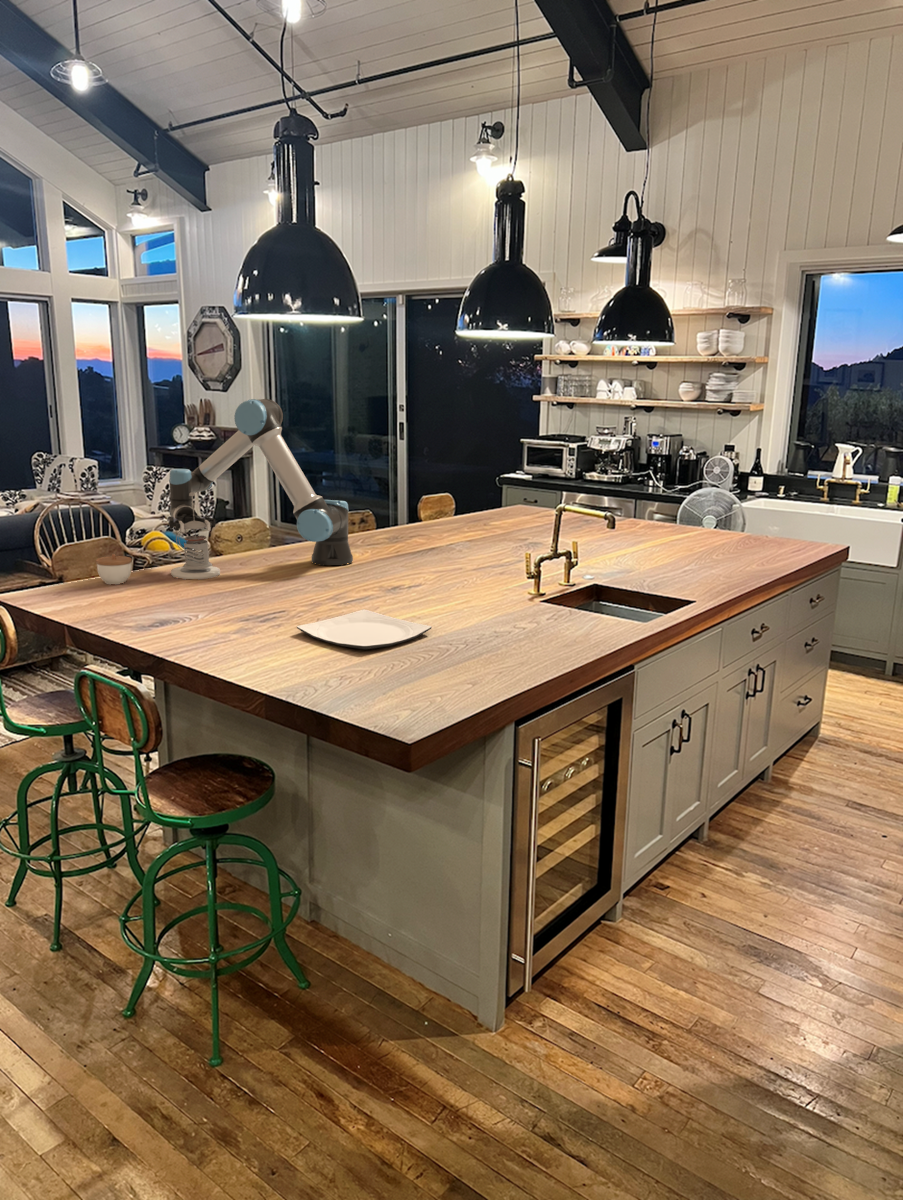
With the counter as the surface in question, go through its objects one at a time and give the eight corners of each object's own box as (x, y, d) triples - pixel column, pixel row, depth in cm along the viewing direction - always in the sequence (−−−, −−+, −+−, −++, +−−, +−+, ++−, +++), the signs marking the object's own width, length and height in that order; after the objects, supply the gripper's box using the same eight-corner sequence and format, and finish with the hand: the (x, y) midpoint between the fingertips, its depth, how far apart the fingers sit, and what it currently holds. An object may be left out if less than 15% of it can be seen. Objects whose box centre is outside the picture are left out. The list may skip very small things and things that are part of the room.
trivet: (229, 574, 313) (229, 569, 313) (191, 581, 301) (191, 576, 300) (199, 567, 322) (199, 562, 322) (161, 574, 310) (161, 569, 309)
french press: (204, 569, 305) (198, 494, 299) (172, 568, 307) (166, 493, 301) (217, 563, 314) (212, 490, 308) (186, 561, 317) (180, 489, 310)
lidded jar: (125, 586, 292) (124, 557, 290) (92, 585, 292) (90, 556, 290) (137, 579, 302) (136, 551, 300) (105, 578, 302) (103, 550, 300)
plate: (364, 616, 266) (364, 607, 266) (439, 636, 249) (439, 626, 248) (288, 635, 245) (288, 626, 244) (364, 658, 227) (365, 648, 227)
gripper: (215, 526, 329) (227, 537, 308) (155, 528, 320) (164, 540, 300) (215, 505, 327) (227, 515, 307) (154, 507, 318) (163, 517, 298)
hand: (196, 527), depth 303 cm, fingers closed on french press, 8 cm apart
